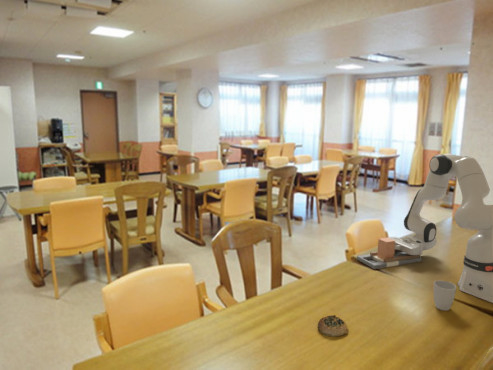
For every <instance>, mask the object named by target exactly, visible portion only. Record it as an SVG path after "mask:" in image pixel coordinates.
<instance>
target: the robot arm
mask: <svg viewBox="0 0 493 370" xmlns="http://www.w3.org/2000/svg"><path fill="white" fill-rule="evenodd" d="M428 166H429V170H428V173H427V175H426V179H425V183H424V184H423V187H422V188H420V189H419V190H418V191H417V192H416V194H415V196H414V198H413V201H412V203H411V205H410V208H409V210H408V212H407V214H406V216H405V217H404V219H403V226H404V229H406V230H407V231H410V232H412V233H414V234H415V235H408V236H405V237H403V239H402V238H399V237H396V236H387V237H386V238H390V239H392V240H394V241H395V249H397V250H401V251H403V252H405V253H407V254H410V255H421V256H422V255H423V251H427V250H431V249H433V248H434V247H436V245H437V243H438V242H437V241H438V240H437V237H436V235H437V225H436V224H435V223H434V222H432V221H430V220H428V219H427V218H426V219H425V218H424V217H422V216H421V215H420V213H421V211H422V209H423V206H424V204H425V202H427V201H438V200H441V199H442V198H444V197H445V195H446V193H447V191H448V187H449V183H450V180H451V178H456V179H457V182H458V185H459V188H460V192H461V195H462V196H461V198H462V199H461V200H462V201H461V204H460V205H459V207H457V208H456V211H454V222H455V224H456V225H457V226H458V227H460V228H461V229H465V230H473V231H475V230H476V231H477V230H478V231H477V232H476V233H475V234H474V235H472V236H470V237H469V238H468V240H467V242H466V249H465V255H464V256H463V257H464V258H463V262H462V263H463V269H462V273H461V276H460V278H459V280H458V282H457V286H458V287H459V290H460V291H461V292H464V293H466V294H469V295H471V296H474V297H476V298H479V299H482V300H484V301H487V302H489V303H492V304H493V204H485V203H484V199H485V198H486V197H488V195H489V193H490V189H491V188H490V186H489V183H488V181H487V178H486V175H485V172H484V170H483V168H482V167H481V164H480V163H479V162H478V161H477V159H475V158H474V157H471V156H466V155H464V156H463V155H456V154H436V155H434V156H432V157H431V159H430V161H429V165H428Z"/></svg>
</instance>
